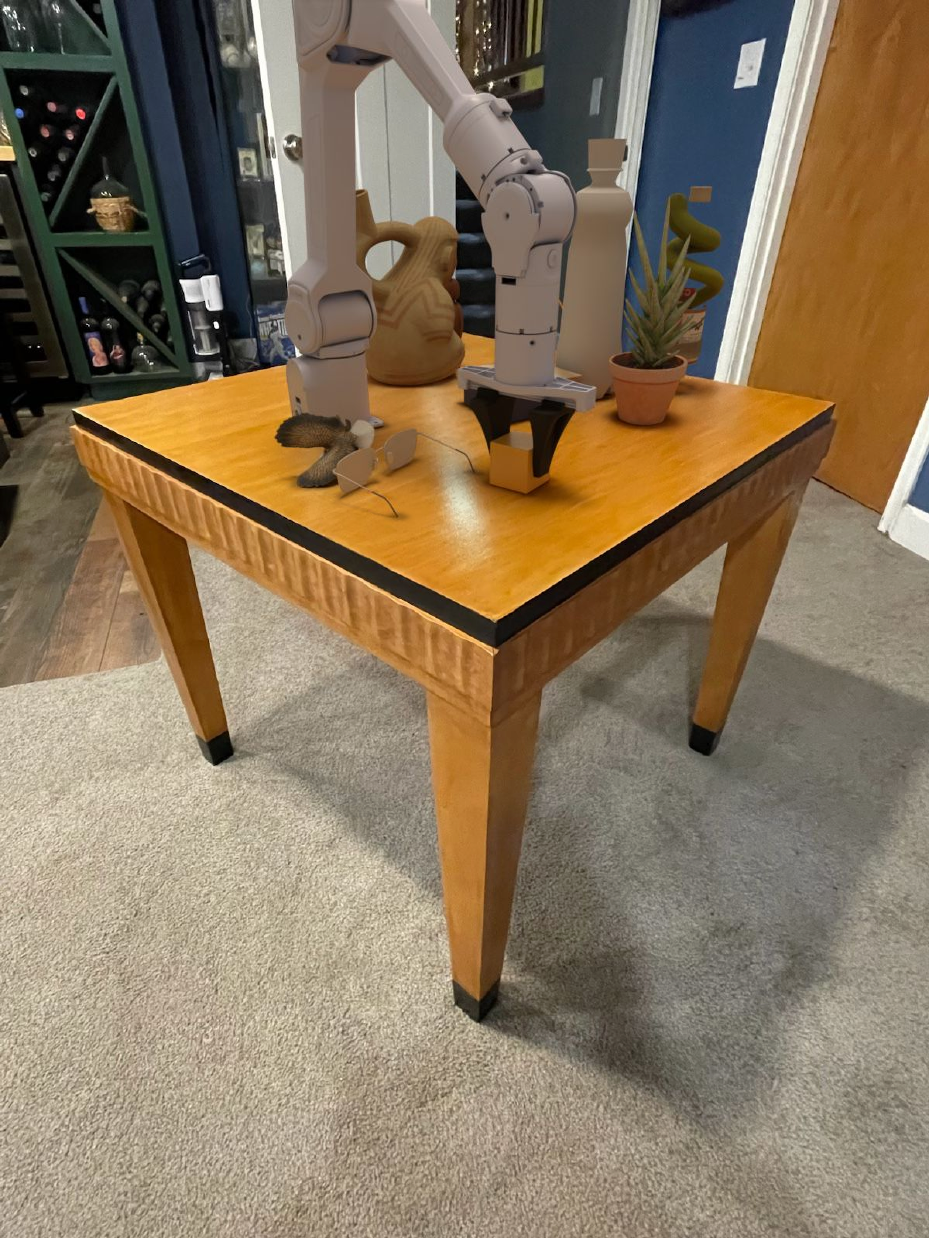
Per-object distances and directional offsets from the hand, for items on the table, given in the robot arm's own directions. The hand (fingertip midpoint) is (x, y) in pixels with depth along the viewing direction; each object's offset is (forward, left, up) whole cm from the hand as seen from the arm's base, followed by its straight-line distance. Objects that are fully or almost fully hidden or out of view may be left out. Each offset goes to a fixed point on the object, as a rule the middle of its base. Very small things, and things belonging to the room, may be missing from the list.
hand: (520, 469), depth 71 cm
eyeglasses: (-10, +6, -2) cm, 12 cm away
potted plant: (+26, +8, -2) cm, 27 cm away
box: (+16, +22, -1) cm, 27 cm away
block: (0, 0, -1) cm, 1 cm away
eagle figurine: (-15, +14, -2) cm, 21 cm away
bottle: (+28, +21, -2) cm, 35 cm away
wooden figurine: (+28, +58, -2) cm, 64 cm away
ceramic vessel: (+12, +44, -2) cm, 46 cm away
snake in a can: (+39, +16, -2) cm, 42 cm away
